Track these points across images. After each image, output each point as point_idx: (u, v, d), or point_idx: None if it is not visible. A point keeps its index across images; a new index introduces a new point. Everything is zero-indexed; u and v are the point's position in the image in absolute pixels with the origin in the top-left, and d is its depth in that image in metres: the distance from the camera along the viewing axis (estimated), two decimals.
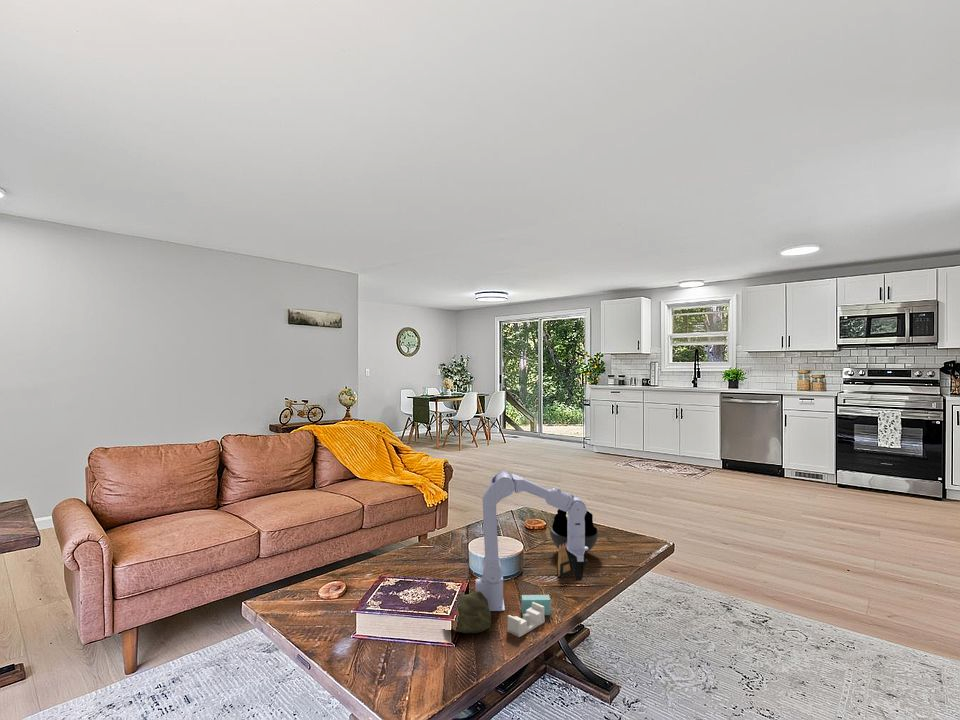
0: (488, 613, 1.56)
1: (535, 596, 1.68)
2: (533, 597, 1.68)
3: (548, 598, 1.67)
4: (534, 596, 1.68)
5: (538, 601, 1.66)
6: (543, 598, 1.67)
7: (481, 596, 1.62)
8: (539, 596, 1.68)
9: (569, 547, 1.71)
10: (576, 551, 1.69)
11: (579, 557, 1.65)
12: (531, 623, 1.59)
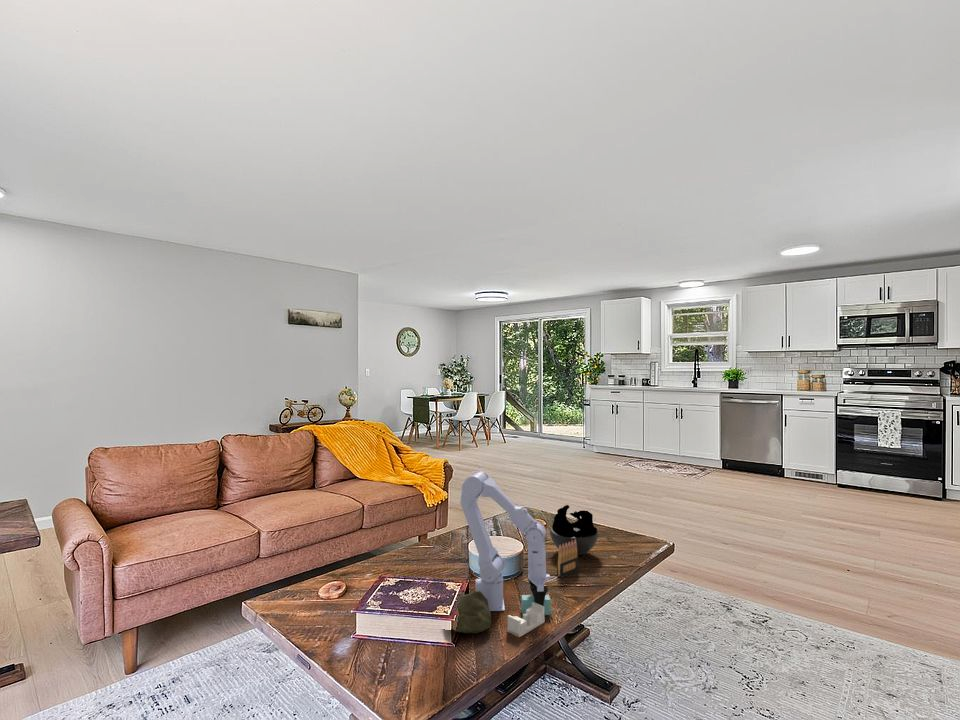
0: (488, 613, 1.56)
1: None
2: (533, 597, 1.68)
3: (548, 598, 1.67)
4: None
5: None
6: None
7: (481, 596, 1.62)
8: None
9: (530, 576, 1.66)
10: (537, 580, 1.65)
11: (539, 587, 1.60)
12: (531, 623, 1.59)
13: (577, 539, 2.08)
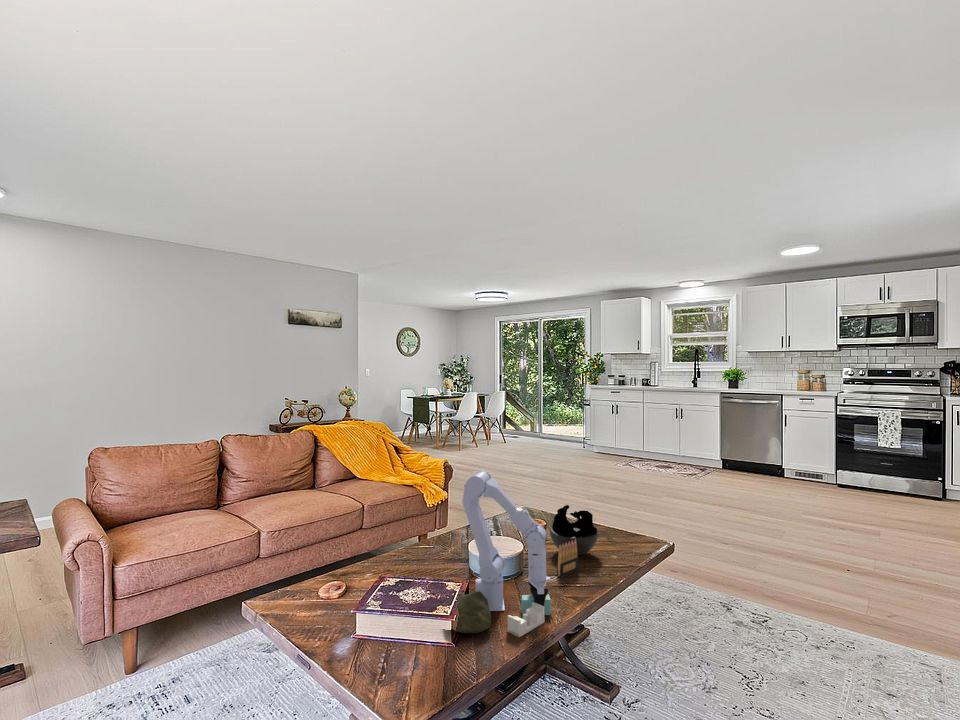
0: (488, 613, 1.56)
1: None
2: (533, 597, 1.68)
3: (548, 598, 1.67)
4: None
5: None
6: None
7: (481, 596, 1.62)
8: None
9: (530, 578, 1.66)
10: (537, 583, 1.64)
11: (539, 589, 1.60)
12: (531, 623, 1.59)
13: (577, 539, 2.08)
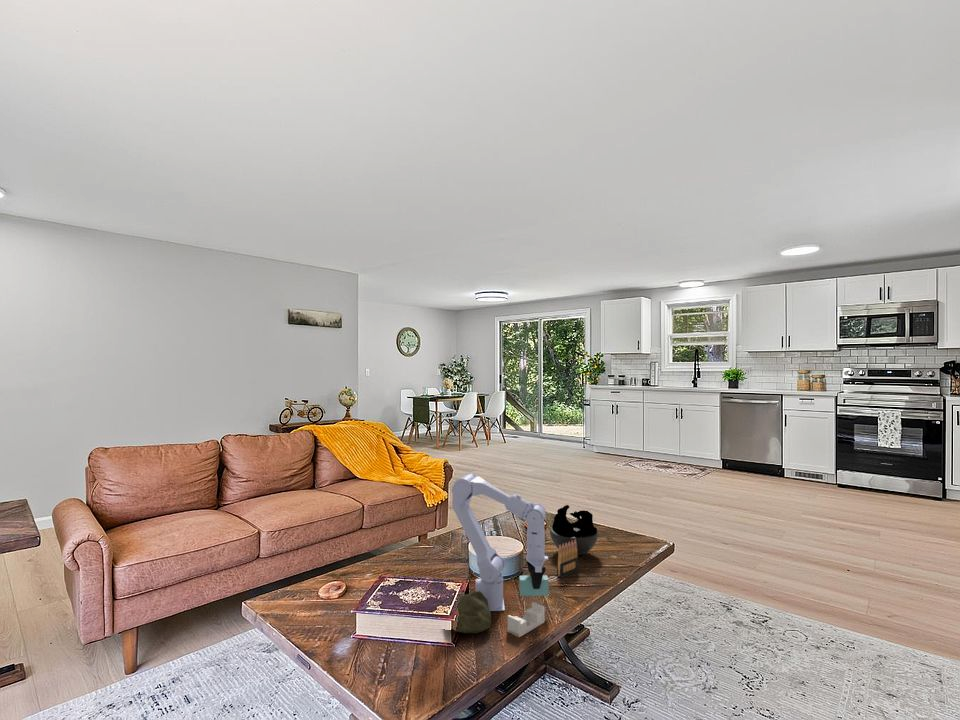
0: (488, 613, 1.56)
1: None
2: None
3: (546, 578, 1.67)
4: None
5: None
6: None
7: (481, 596, 1.62)
8: None
9: (528, 557, 1.66)
10: (535, 561, 1.65)
11: (537, 568, 1.60)
12: (531, 623, 1.59)
13: (577, 539, 2.08)
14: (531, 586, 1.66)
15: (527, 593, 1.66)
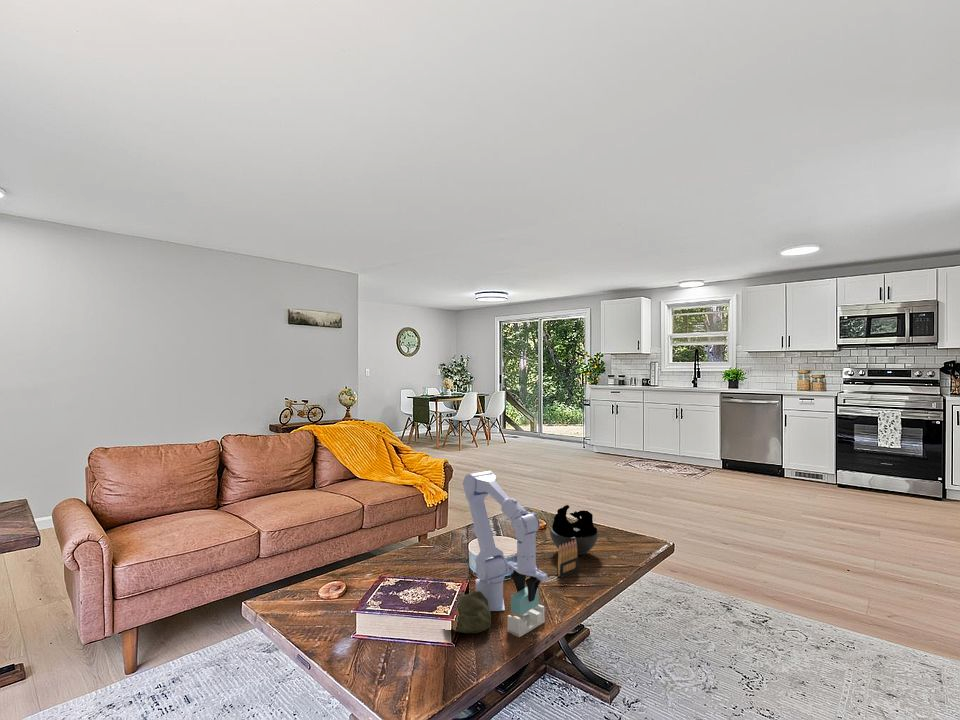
0: (488, 613, 1.56)
1: (523, 591, 1.58)
2: (523, 593, 1.58)
3: None
4: (522, 591, 1.58)
5: None
6: None
7: (481, 596, 1.62)
8: (525, 590, 1.59)
9: (524, 570, 1.56)
10: (533, 572, 1.56)
11: (544, 577, 1.53)
12: (531, 623, 1.59)
13: (577, 539, 2.08)
14: (527, 601, 1.56)
15: (524, 610, 1.55)
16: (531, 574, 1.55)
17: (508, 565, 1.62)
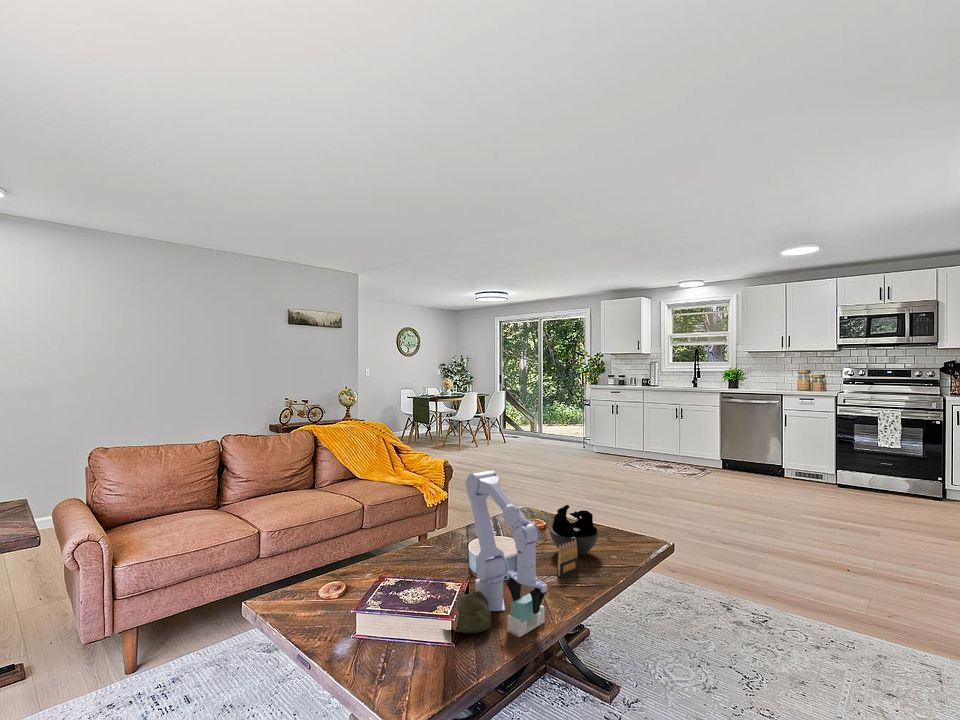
0: (488, 613, 1.56)
1: (523, 599, 1.59)
2: (523, 600, 1.58)
3: None
4: (522, 599, 1.58)
5: (530, 603, 1.57)
6: (531, 598, 1.59)
7: (481, 596, 1.62)
8: (525, 597, 1.60)
9: (524, 580, 1.56)
10: (533, 582, 1.56)
11: (544, 587, 1.53)
12: (531, 623, 1.59)
13: (577, 539, 2.08)
14: (527, 609, 1.56)
15: (524, 618, 1.55)
16: (531, 584, 1.55)
17: (508, 575, 1.62)
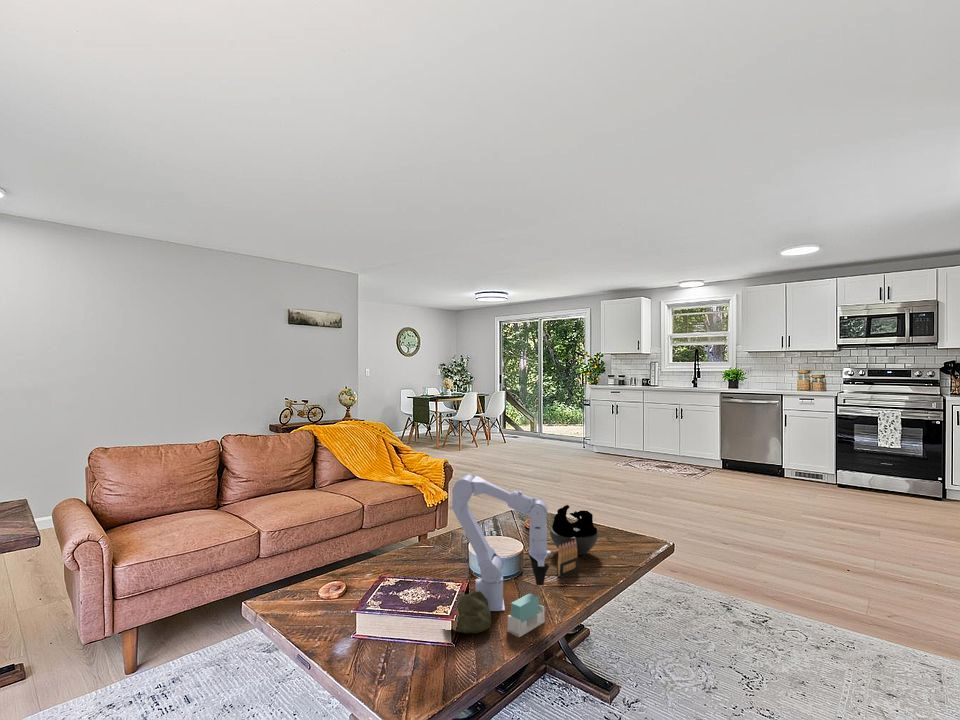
0: (488, 613, 1.56)
1: (523, 599, 1.59)
2: (523, 600, 1.58)
3: (535, 596, 1.60)
4: (522, 599, 1.58)
5: (530, 603, 1.57)
6: (531, 598, 1.59)
7: (481, 596, 1.62)
8: (525, 597, 1.60)
9: (531, 551, 1.68)
10: (538, 555, 1.66)
11: (540, 562, 1.62)
12: (531, 623, 1.59)
13: (577, 539, 2.08)
14: (527, 609, 1.56)
15: (524, 618, 1.55)
16: (533, 556, 1.66)
17: None
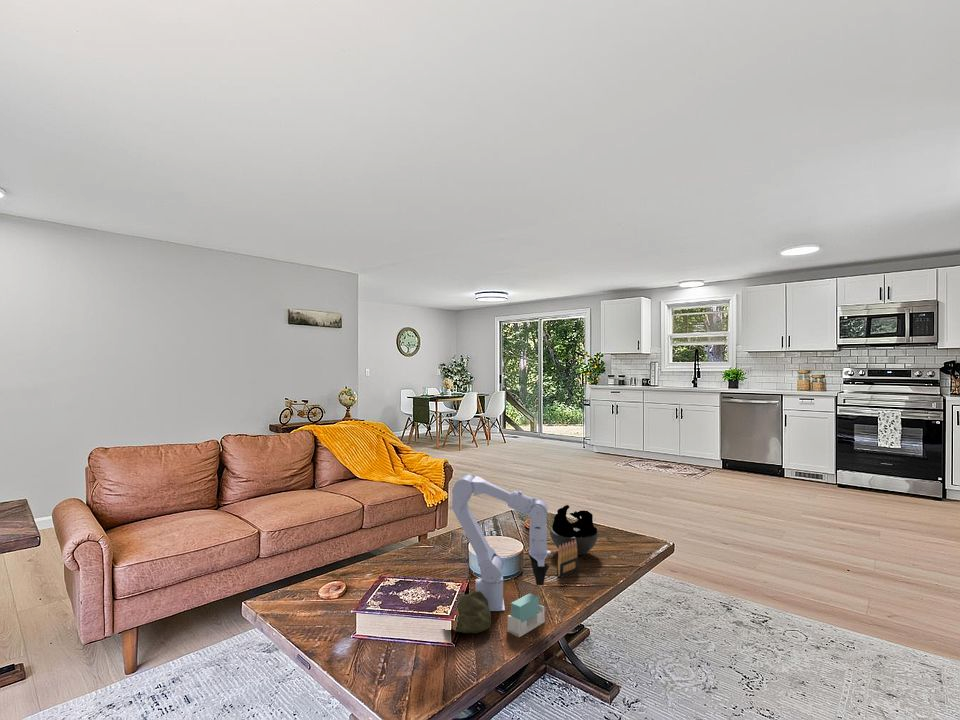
0: (488, 613, 1.56)
1: (523, 599, 1.59)
2: (523, 600, 1.58)
3: (535, 596, 1.60)
4: (522, 599, 1.58)
5: (530, 603, 1.57)
6: (531, 598, 1.59)
7: (481, 596, 1.62)
8: (525, 597, 1.60)
9: (531, 551, 1.68)
10: (538, 555, 1.66)
11: (540, 562, 1.62)
12: (531, 623, 1.59)
13: (577, 539, 2.08)
14: (527, 609, 1.56)
15: (524, 618, 1.55)
16: (533, 556, 1.66)
17: None
